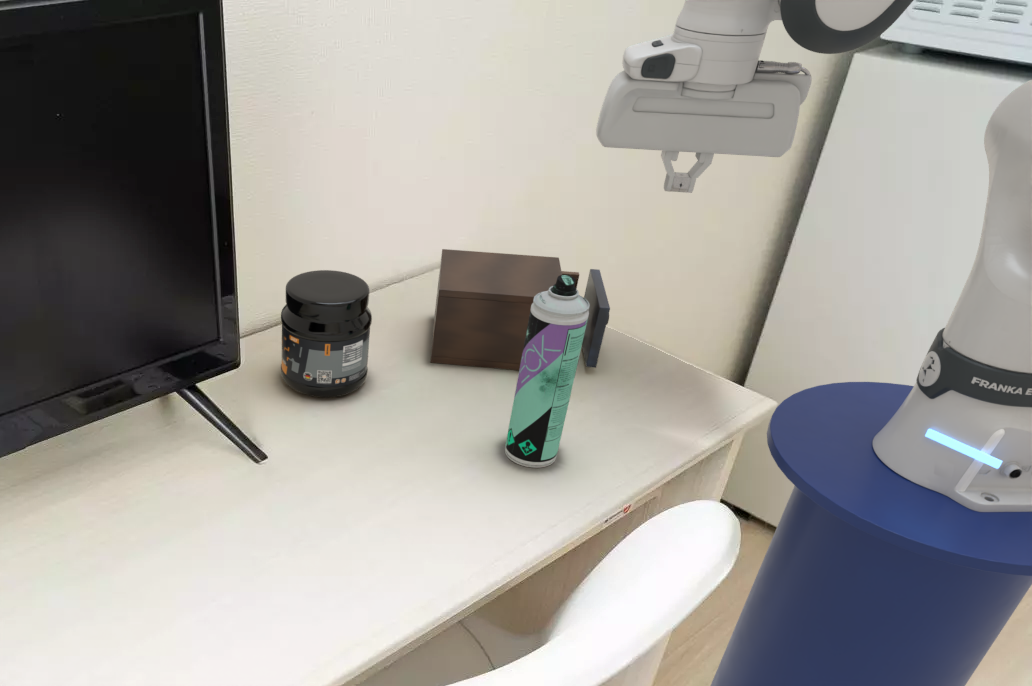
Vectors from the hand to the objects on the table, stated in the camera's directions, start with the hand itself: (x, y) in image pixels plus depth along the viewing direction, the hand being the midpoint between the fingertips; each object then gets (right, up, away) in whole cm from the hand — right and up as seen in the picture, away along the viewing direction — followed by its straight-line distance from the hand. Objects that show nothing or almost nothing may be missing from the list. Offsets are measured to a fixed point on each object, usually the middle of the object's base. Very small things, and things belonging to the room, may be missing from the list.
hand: (677, 190), depth 105 cm
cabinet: (-18, -15, +15) cm, 28 cm away
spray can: (-18, -30, -5) cm, 36 cm away
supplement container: (-40, -21, +7) cm, 45 cm away
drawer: (-12, -15, +13) cm, 23 cm away
